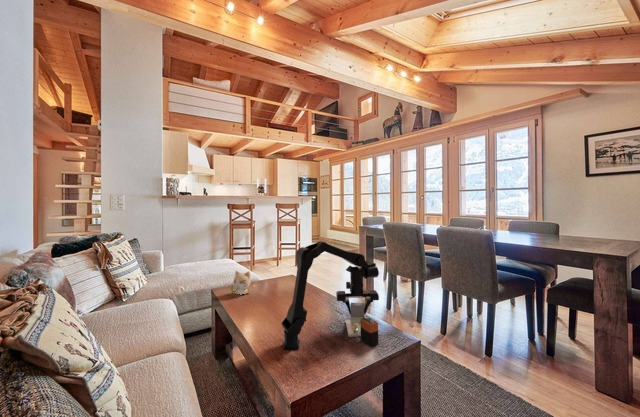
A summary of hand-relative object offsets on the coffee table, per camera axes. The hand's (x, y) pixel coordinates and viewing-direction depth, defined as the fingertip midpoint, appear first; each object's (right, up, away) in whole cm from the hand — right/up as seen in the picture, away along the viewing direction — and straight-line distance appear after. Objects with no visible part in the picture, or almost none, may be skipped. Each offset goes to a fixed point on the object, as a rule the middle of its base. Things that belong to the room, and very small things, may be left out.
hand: (357, 314), depth 122 cm
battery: (+3, -7, -11) cm, 14 cm away
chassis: (0, -7, 0) cm, 7 cm away
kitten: (-68, -7, +50) cm, 85 cm away
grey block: (0, -2, 0) cm, 2 cm away
